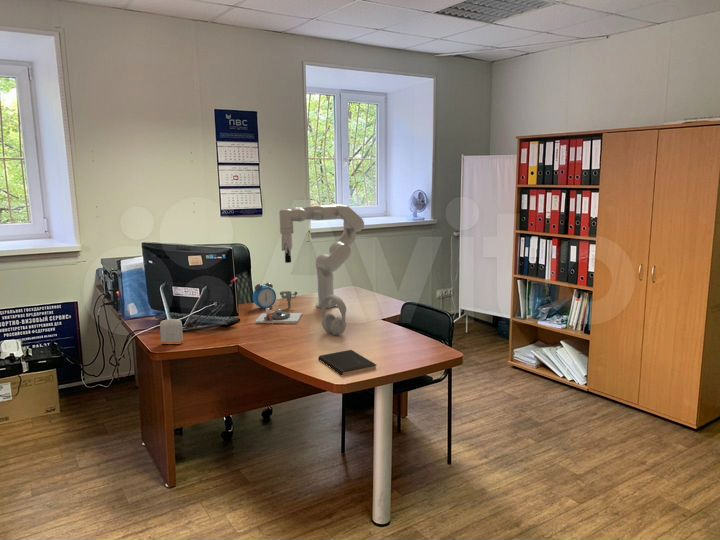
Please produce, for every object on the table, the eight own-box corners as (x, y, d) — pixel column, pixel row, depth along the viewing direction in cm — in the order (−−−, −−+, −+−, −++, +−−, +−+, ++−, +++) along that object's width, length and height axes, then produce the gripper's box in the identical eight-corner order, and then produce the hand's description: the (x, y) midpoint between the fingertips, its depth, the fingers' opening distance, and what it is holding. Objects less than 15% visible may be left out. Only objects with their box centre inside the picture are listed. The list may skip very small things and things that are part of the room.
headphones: (351, 336, 272) (350, 296, 268) (338, 339, 267) (337, 299, 264) (329, 329, 286) (328, 291, 282) (317, 331, 281) (315, 293, 278)
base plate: (302, 315, 314) (301, 307, 314) (297, 323, 298) (297, 315, 297) (262, 315, 315) (261, 308, 315) (255, 324, 299) (255, 315, 298)
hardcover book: (351, 354, 247) (351, 349, 246) (376, 370, 227) (376, 364, 226) (318, 360, 239) (318, 355, 239) (342, 377, 219) (341, 371, 219)
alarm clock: (257, 310, 328) (255, 285, 326) (252, 308, 333) (251, 284, 331) (277, 307, 336) (275, 282, 333) (272, 305, 341) (271, 281, 338)
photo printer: (184, 342, 268) (182, 317, 266) (182, 345, 264) (180, 320, 262) (162, 343, 268) (160, 318, 266) (160, 345, 264) (158, 320, 261)
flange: (281, 312, 314) (280, 302, 313) (294, 316, 306) (294, 305, 305) (259, 317, 304) (258, 307, 303) (272, 321, 296) (271, 310, 294)
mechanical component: (297, 308, 331) (296, 292, 330) (280, 308, 332) (279, 292, 330) (298, 307, 334) (297, 291, 333) (281, 307, 335) (280, 291, 333)
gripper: (282, 229, 324) (284, 260, 327) (277, 232, 310) (279, 264, 313) (295, 229, 324) (296, 260, 327) (291, 232, 309) (292, 264, 312)
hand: (288, 262), depth 320 cm, fingers closed
